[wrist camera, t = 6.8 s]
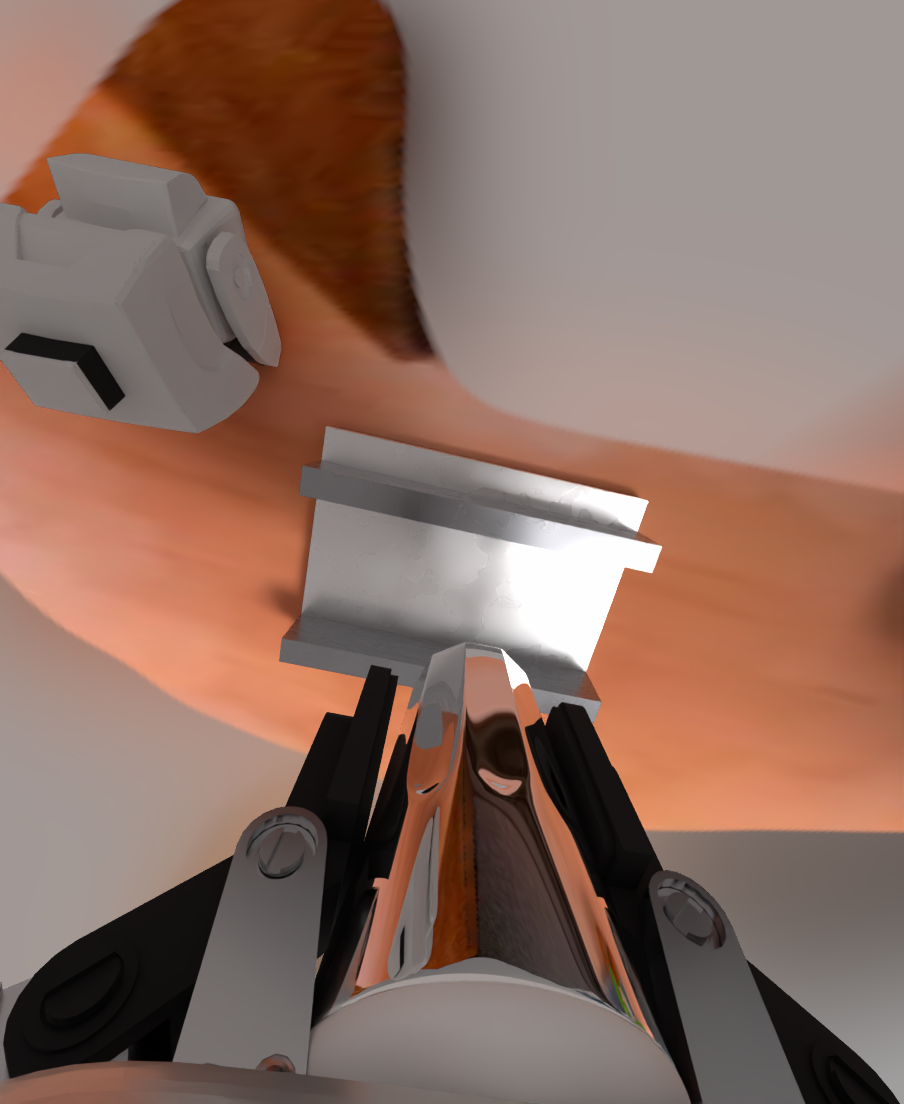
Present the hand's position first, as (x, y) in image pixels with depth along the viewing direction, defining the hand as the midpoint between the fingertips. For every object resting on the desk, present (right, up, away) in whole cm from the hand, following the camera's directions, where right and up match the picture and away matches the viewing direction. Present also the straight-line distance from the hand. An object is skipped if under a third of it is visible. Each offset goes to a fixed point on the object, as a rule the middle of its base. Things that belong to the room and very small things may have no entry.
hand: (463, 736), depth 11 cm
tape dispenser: (-11, +15, +8) cm, 20 cm away
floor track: (0, +3, +11) cm, 11 cm away
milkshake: (0, +1, +2) cm, 2 cm away
